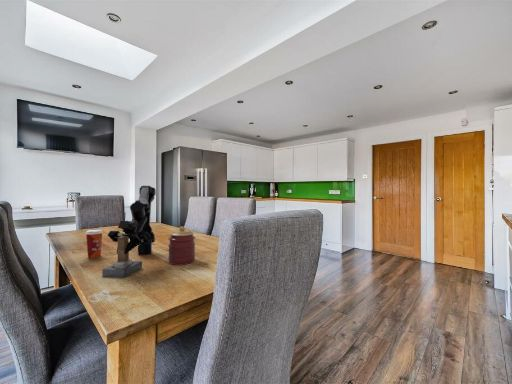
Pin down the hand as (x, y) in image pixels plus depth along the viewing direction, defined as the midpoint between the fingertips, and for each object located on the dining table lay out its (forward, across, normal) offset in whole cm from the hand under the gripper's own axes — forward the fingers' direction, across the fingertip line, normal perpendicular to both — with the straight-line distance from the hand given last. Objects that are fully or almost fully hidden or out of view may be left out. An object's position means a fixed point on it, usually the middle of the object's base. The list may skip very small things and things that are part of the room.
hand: (121, 253), depth 102 cm
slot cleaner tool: (+4, 0, +6) cm, 7 cm away
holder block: (+5, 0, +7) cm, 9 cm away
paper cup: (-8, -31, +20) cm, 38 cm away
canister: (-8, +18, +20) cm, 29 cm away
